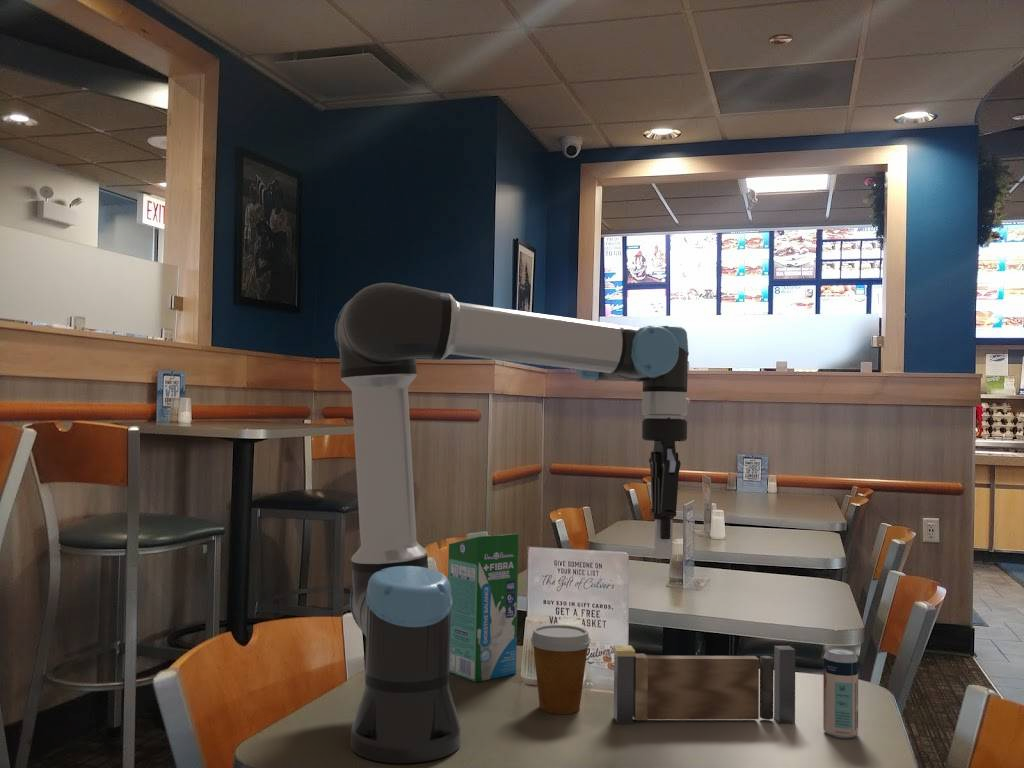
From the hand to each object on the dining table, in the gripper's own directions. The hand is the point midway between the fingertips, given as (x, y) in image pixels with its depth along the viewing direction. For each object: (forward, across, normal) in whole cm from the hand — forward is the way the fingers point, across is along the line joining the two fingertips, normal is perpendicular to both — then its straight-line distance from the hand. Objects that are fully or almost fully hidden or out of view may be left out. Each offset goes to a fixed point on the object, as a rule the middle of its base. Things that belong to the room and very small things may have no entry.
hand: (663, 557), depth 152 cm
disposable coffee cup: (+23, -8, +18) cm, 30 cm away
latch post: (+22, -14, +9) cm, 28 cm away
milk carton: (+23, +12, +30) cm, 39 cm away
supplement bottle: (+23, -20, -22) cm, 37 cm away
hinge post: (+22, -14, -16) cm, 31 cm away
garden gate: (+22, -14, -3) cm, 26 cm away
